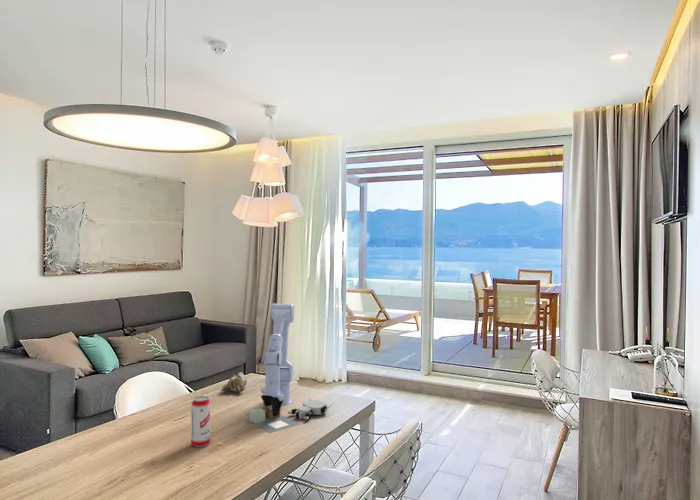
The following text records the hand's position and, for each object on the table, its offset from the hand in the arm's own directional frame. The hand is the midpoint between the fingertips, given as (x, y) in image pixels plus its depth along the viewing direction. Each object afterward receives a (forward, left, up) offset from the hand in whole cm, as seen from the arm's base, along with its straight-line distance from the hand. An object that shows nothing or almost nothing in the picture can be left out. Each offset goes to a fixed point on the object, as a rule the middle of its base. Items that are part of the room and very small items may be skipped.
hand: (272, 414), depth 190 cm
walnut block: (0, 0, -1) cm, 1 cm away
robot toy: (+8, +13, -2) cm, 15 cm away
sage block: (0, -7, -1) cm, 7 cm away
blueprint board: (+5, -3, -1) cm, 6 cm away
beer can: (+6, -33, -2) cm, 34 cm away
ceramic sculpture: (-42, +6, -2) cm, 43 cm away
